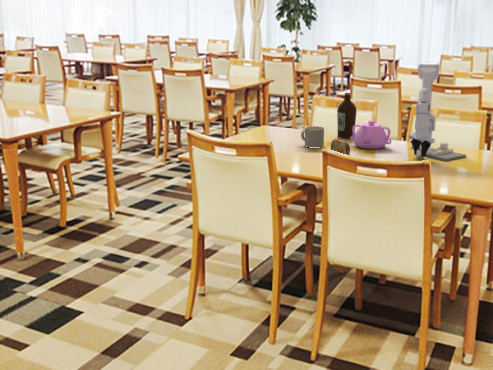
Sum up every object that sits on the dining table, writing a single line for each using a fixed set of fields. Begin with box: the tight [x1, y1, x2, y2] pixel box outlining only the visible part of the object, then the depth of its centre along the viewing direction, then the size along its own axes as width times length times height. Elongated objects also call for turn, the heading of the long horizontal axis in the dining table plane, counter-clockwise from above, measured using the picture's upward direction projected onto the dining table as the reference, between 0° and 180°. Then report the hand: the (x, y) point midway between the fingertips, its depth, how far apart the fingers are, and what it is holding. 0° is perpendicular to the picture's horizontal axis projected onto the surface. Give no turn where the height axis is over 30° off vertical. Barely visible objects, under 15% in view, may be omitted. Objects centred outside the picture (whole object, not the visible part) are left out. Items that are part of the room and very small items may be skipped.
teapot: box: [350, 120, 392, 150], centre depth 317 cm, size 22×22×14 cm
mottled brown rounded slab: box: [330, 138, 351, 156], centre depth 297 cm, size 15×3×8 cm, turn 21°
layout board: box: [424, 142, 467, 162], centre depth 297 cm, size 16×15×5 cm
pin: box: [415, 149, 425, 160], centre depth 293 cm, size 4×4×4 cm
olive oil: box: [336, 92, 357, 140], centre depth 342 cm, size 11×11×25 cm
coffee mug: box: [300, 125, 325, 148], centre depth 322 cm, size 13×10×10 cm
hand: (420, 155), depth 293 cm, fingers open, 4 cm apart
